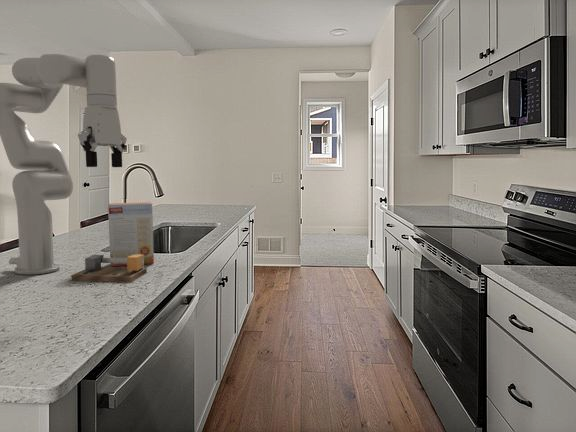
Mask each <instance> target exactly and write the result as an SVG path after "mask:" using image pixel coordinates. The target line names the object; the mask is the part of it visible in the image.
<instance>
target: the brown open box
mask: <svg viewBox="0 0 576 432" xmlns="http://www.w3.org/2000/svg"><path fill="white" fill-rule="evenodd" d="M84 271H85V269H81V271H78V272H76V273H75V272H74V273H73V274H71V275H70V278H71V279H70V280H71V281H80V282H82V281H83V282H84V281H85V282H87V281H88V282H116V283H117V282H118V283H120V282H121V283H122V282H123V283H133V282H134V281H135V280H137V279H139V278H140V277H142V276H143V275H146V274H147V273H148V272H147V271H148V270H147V267H146V268H145V267H144V269H139V270H137V271H132V272H130V273H127V272H126V271H127V267H120V266H114V267H112V266H108V267H107V266H101V269H100V270H97V271H95V272H89V273H86V274H84Z"/></svg>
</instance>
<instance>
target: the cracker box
mask: <svg viewBox="0 0 576 432" xmlns="http://www.w3.org/2000/svg"><path fill="white" fill-rule="evenodd" d="M107 211H108V213H107V214H108V215H107V216H108V237H109V238H108V241H109V258H127V257H129V256H131V255H134V254H138V255H144V257H143V258H142V259H144V265H152V264H154V263H155V261H154V260H155V255H154V224H153V222H154V221H153V220H154V219H153V203H152V202H150V201H149V202H117V203H116V202H115V203H108V204H107ZM109 264H110V267H125V266H126V267H127V264H125V263H109Z"/></svg>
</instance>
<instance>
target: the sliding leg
mask: <svg viewBox="0 0 576 432" xmlns="http://www.w3.org/2000/svg"><path fill="white" fill-rule="evenodd" d="M143 257H144V255H138V254H134V255H131V256H129V257H127V266H126V268H127V271H126V272H127V273H130V272H132V271H137V270H139V269H141V268H142V258H143Z"/></svg>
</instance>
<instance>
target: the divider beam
mask: <svg viewBox="0 0 576 432" xmlns="http://www.w3.org/2000/svg"><path fill="white" fill-rule="evenodd" d="M110 263H125V264H127V258H110V257H104V254H92V255H90V256H88V257H85V258H84V266H85V268H84V270H85V271H84V274H86V273H89V272H95V271H97V270H100V269H101V267H102V264H110ZM144 268H145V264H144V259H142V268H141V269H144Z"/></svg>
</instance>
